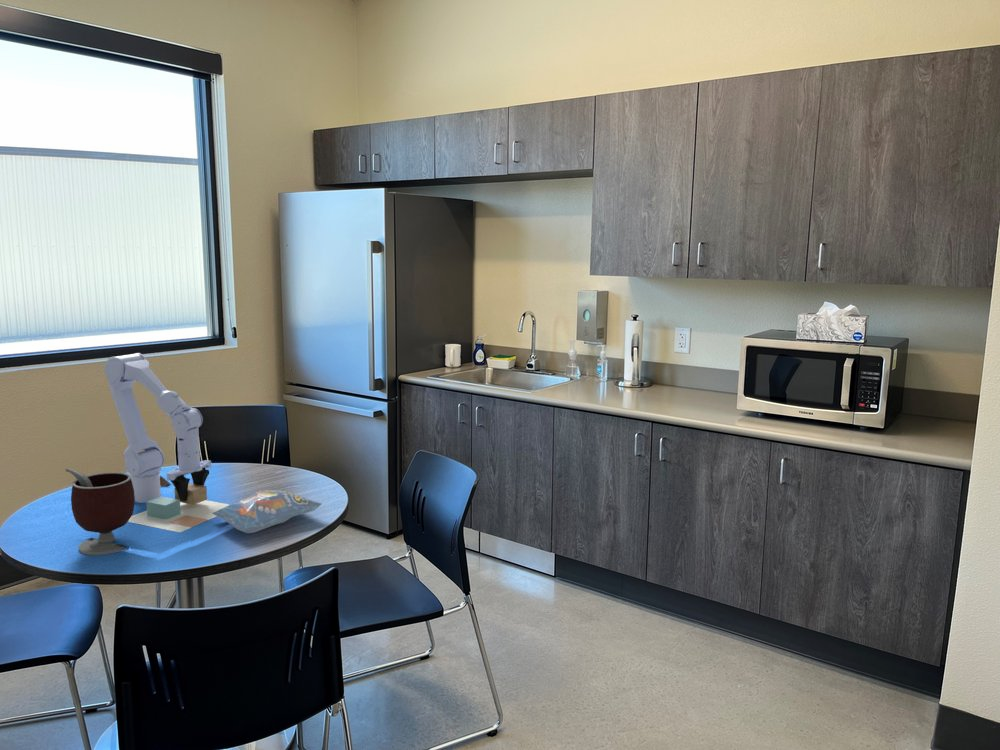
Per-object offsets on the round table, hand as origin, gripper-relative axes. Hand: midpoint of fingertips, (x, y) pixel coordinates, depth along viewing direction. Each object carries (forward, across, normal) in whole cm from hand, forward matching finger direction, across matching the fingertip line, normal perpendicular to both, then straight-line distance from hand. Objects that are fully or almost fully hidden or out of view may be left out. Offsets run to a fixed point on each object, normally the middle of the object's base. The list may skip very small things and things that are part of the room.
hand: (190, 497), depth 209 cm
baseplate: (+3, -6, -3) cm, 7 cm away
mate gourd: (+4, -29, 0) cm, 29 cm away
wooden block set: (+4, +5, +26) cm, 26 cm away
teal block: (+2, -9, +1) cm, 9 cm away
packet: (+4, 0, -27) cm, 27 cm away
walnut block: (+1, 0, 0) cm, 1 cm away
